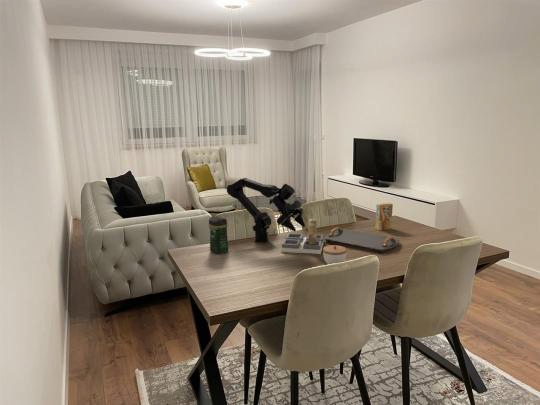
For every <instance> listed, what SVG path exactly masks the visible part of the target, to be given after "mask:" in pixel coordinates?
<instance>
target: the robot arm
mask: <svg viewBox="0 0 540 405" xmlns="http://www.w3.org/2000/svg"><path fill="white" fill-rule="evenodd" d="M244 188H248V189H251V190H252V191H256V192H259V193H260V194H261V195H262V196H264V197H266V198H268V199H269V205H274V206H275V207H276V209H277V213H281V215H280V216H279V217H278V218H277V219H276V223H277V225H279V226H282V227H285V228H287V229H289V230H291V231H293V232H296V231H297V229H296V227H295V226H294V224H293V222H292V221H291V218H293V220H294V221H295V222H296V223H297V224H299V225H300V226H301V227H302V228H305V227H306V224H305V221H304V219H303V214H304V209H303V208H302V207H301V204H302V202H301V201H300V200H298V199H297V200H293V203H290V202H287V201H288V200H289V199H290V198H291V197H292V196H293V195H294V194H295V193H296V190H295V189H294V188H293V187H292V186H291V185H289V184H287V183H284V184H283V185H282V186H281V188H280V187H277V185H274V184H265V183H264V184H263V183H260V182H258V181H255V180H251V179H249V178H247V177H242V178H240V179H239V180H237V181H236V182H233V183H231V184H228V185H227V186H226V193H227V194H228V195H229V196H230V197H231V198H234V199H236V200H237V201H238V202H239V203H240V204H241V205H242V206H243V207H244V209H245V210H246V211H247V212H248V213H249V214H250V215H251V217H253V220H254V224H253V226H252V231H253V232H254V235H255V237H254V238H255V239H254V242H255V243H267V242H268V241H269V231H268V229H270V226H271V225H272V218H271V216H270V215H269V214H268V213H267V212H266V211H264V212H262V211H260V210H259V209H258V207H257V206H256V205H255V204H254V203H253V201H251V200H250V199H249V197H247V196H246V194H245V192H244ZM272 197H273V198H272Z"/></svg>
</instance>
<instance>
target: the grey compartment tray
mask: <svg viewBox="0 0 540 405" xmlns="http://www.w3.org/2000/svg"><path fill="white" fill-rule="evenodd" d="M324 243H325V237H324V234H317V235H316V245H309V233H308V234H307V236H304V233H293V232H287V235H286V236H285V238H284V239H283V241H282V243H281V247H280V252H281V253H297V254H313V255H314V254H316V255H321V253H322V251H323V248H324Z"/></svg>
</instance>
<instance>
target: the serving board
mask: <svg viewBox="0 0 540 405" xmlns="http://www.w3.org/2000/svg"><path fill="white" fill-rule="evenodd" d="M324 241H325V243H330V242H336V243H341V244H346V245H350V246H355V247H362V248H365V249H370V250H371V249H372V250H376V251H379V253H380V254H384V253H385V251H388V250H391V249H393V248H395V247H397V246H398V245H399V244H400V240H399V238H397V237H394V236H391V235H390V236H386V235H383V234H381V235H380V234H375V233H371V232H370V233H369V232H364V231H358V230H353V229H345V228H341V227H339V226H338V227H335V228H333V229H331V231H330V232H329V233H327V234H326V236H325V237H324Z"/></svg>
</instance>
